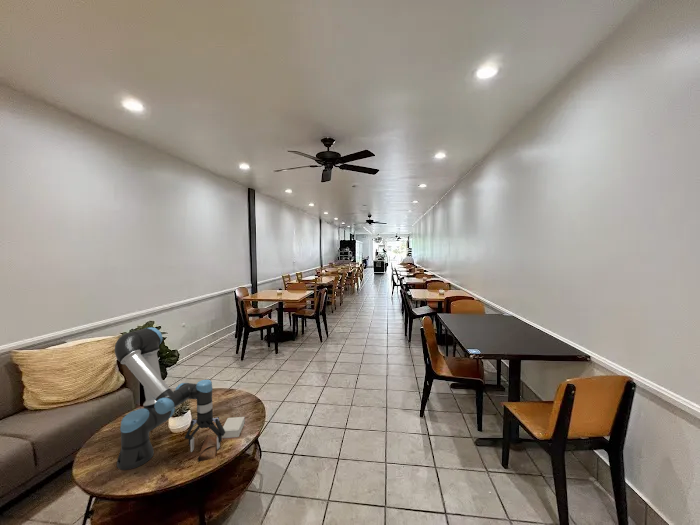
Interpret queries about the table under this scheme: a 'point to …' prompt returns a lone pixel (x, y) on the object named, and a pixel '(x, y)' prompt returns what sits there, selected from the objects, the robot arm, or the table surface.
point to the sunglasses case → (208, 449)
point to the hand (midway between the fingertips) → (205, 449)
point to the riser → (233, 427)
